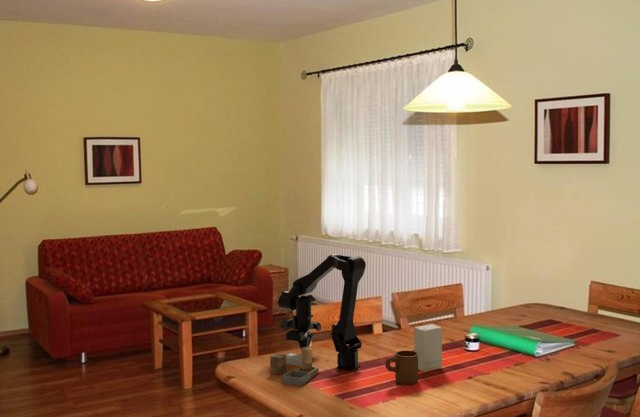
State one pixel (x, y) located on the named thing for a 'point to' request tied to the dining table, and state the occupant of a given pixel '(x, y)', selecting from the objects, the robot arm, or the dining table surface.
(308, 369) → the dowel
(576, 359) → the dining table surface
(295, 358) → the pale grey box
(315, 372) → the socket block
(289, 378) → the tray
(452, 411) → the dining table surface
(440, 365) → the skincare box
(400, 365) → the mug
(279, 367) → the block
